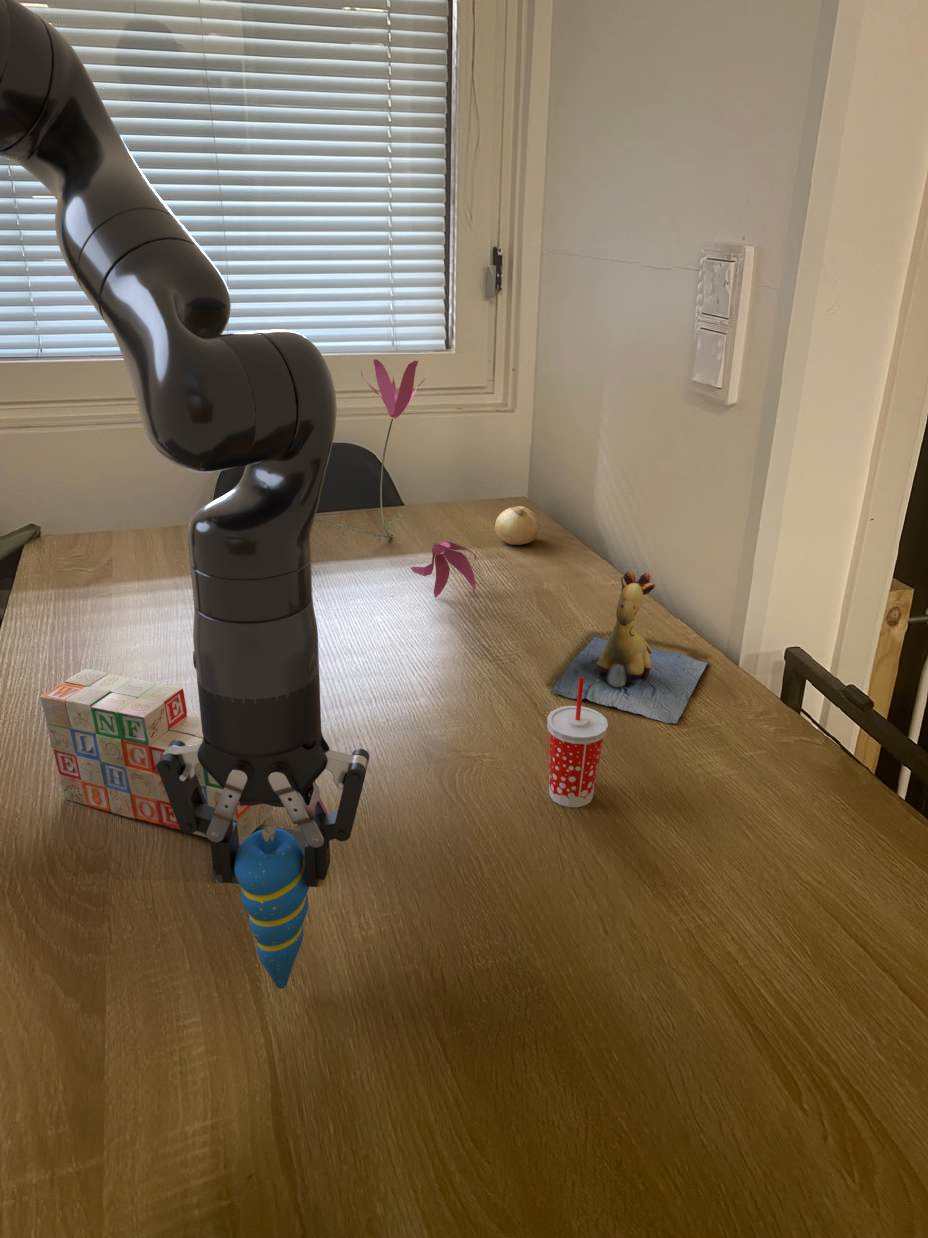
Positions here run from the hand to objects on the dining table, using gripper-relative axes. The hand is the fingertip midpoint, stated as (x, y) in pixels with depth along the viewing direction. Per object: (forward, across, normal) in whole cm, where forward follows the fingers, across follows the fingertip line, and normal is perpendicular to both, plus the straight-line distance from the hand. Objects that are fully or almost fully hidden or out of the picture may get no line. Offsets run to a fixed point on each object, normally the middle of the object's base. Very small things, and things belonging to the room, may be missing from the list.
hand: (272, 876), depth 64 cm
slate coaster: (+13, +5, -16) cm, 21 cm away
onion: (+13, -20, -105) cm, 108 cm away
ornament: (+11, 0, 0) cm, 11 cm away
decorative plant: (+13, +5, -88) cm, 89 cm away
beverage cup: (+13, -24, -29) cm, 40 cm away
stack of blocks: (+13, +17, -24) cm, 32 cm away
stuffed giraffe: (+13, -34, -55) cm, 66 cm away
